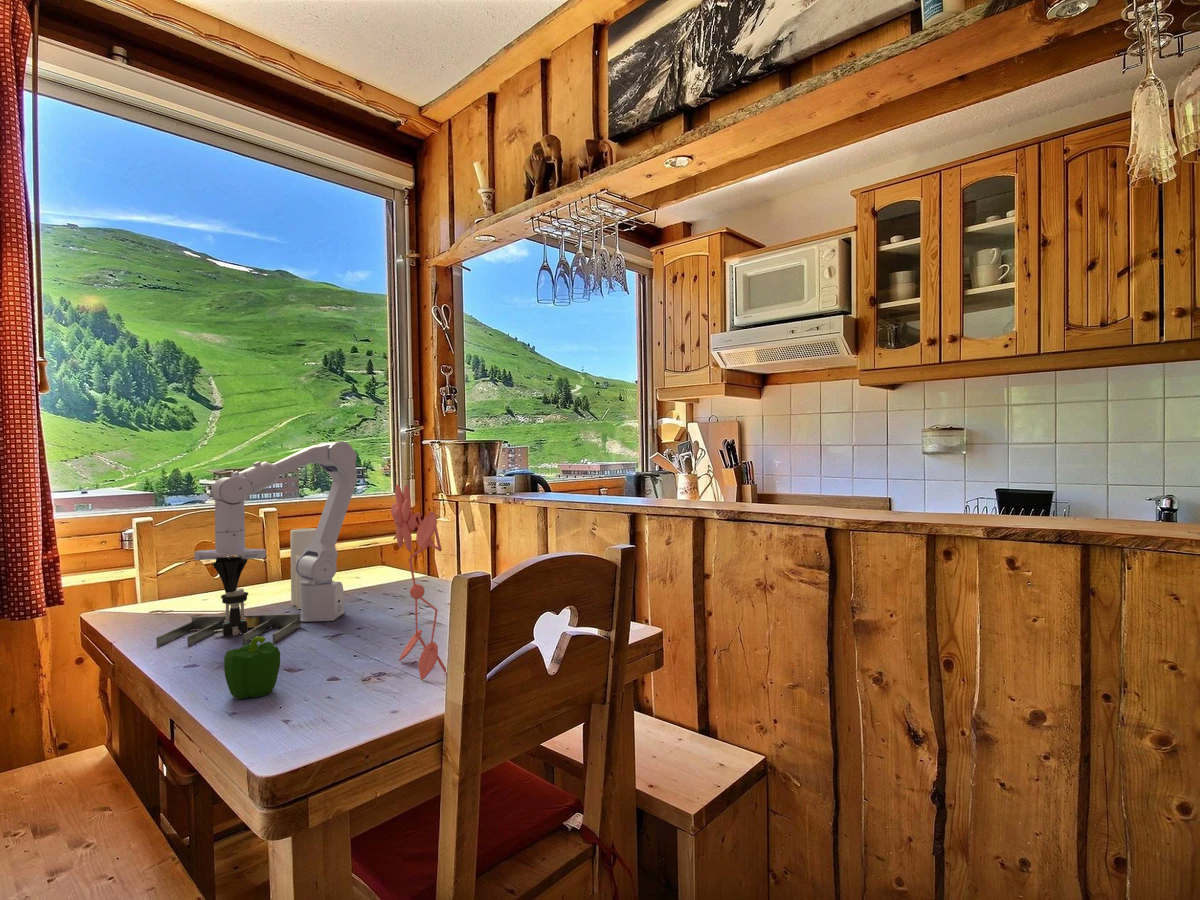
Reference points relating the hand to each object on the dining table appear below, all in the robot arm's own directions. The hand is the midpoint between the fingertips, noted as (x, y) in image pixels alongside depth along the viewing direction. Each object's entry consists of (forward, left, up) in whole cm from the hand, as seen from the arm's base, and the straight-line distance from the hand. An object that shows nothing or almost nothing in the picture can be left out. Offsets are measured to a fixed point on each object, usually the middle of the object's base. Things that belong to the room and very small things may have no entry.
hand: (230, 591), depth 136 cm
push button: (+1, -2, -10) cm, 10 cm away
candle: (-5, -28, -10) cm, 30 cm away
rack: (0, 0, -10) cm, 10 cm away
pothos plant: (-45, +26, -10) cm, 53 cm away
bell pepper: (-22, +34, -10) cm, 42 cm away
